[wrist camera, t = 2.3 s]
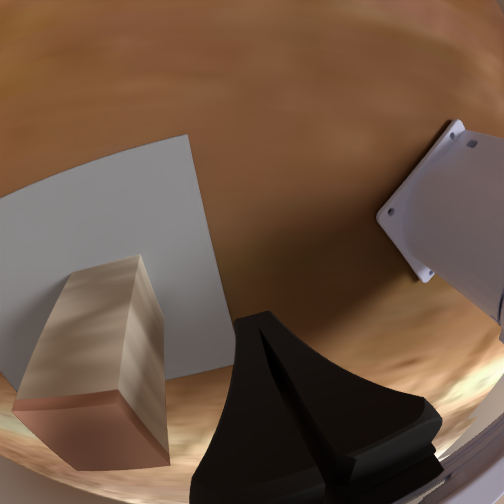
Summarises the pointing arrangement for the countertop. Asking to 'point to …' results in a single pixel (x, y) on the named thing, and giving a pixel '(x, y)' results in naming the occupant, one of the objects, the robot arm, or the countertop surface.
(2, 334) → the rubber mat
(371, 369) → the countertop surface
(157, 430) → the birch block
